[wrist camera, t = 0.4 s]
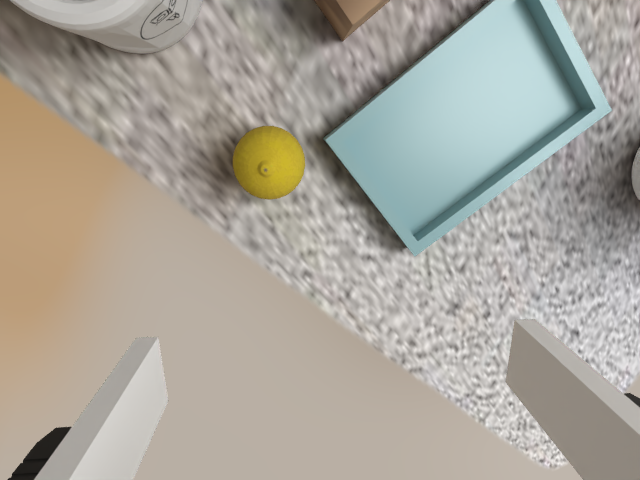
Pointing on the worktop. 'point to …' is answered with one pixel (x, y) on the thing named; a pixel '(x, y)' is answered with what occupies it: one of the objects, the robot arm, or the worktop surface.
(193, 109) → the worktop surface
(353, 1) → the walnut block
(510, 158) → the tray
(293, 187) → the lemon
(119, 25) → the mug
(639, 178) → the supplement tub
